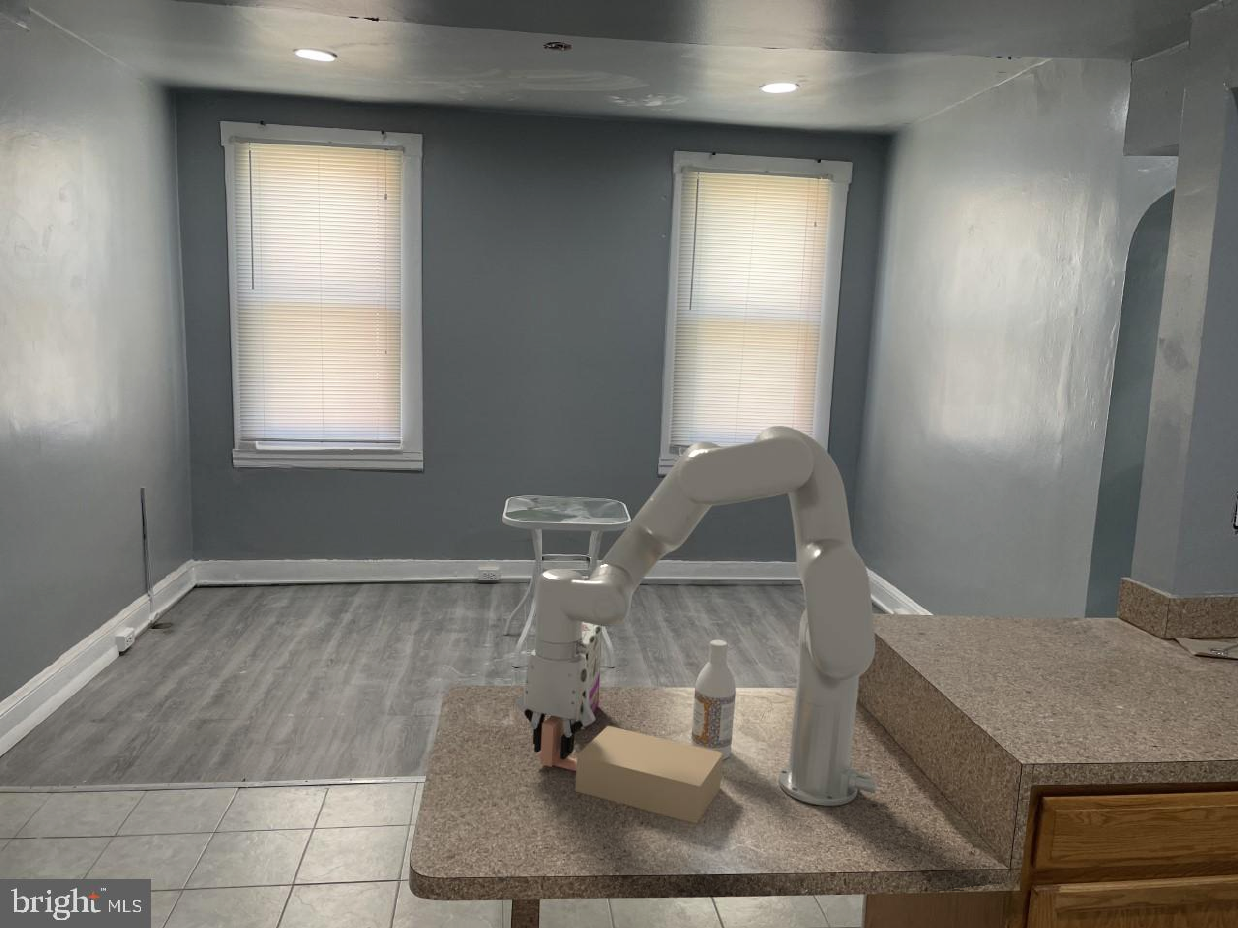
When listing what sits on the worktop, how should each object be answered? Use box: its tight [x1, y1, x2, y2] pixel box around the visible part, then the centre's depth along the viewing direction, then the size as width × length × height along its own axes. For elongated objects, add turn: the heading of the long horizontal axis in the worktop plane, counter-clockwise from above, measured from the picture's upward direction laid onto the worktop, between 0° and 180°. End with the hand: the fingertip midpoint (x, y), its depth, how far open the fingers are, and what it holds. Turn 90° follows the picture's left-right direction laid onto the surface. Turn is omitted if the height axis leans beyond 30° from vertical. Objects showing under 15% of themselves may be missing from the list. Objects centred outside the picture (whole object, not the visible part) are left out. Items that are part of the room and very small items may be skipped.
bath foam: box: [690, 639, 737, 761], centre depth 159 cm, size 7×7×20 cm
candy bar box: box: [577, 622, 603, 730], centre depth 171 cm, size 11×5×16 cm, turn 168°
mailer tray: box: [539, 715, 577, 772], centre depth 148 cm, size 27×10×7 cm, turn 67°
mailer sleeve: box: [574, 725, 723, 825], centre depth 147 cm, size 20×12×6 cm, turn 67°
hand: (553, 751), depth 153 cm, fingers open, 4 cm apart
